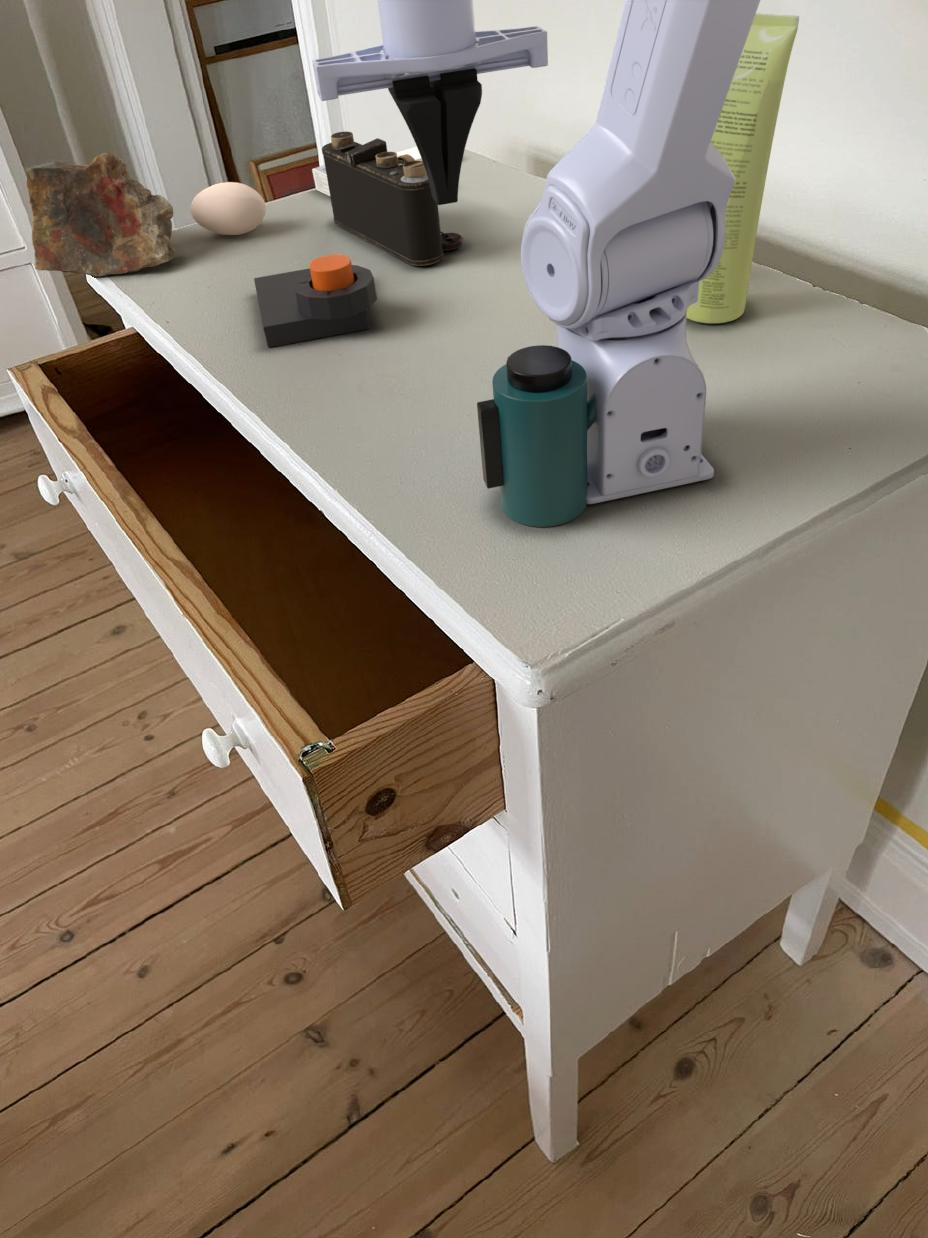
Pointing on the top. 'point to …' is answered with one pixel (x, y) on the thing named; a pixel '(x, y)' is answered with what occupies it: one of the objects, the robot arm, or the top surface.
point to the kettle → (538, 436)
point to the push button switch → (312, 306)
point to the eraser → (411, 153)
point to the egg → (228, 208)
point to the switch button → (331, 272)
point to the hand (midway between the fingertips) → (444, 199)
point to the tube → (746, 160)
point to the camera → (385, 200)
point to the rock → (97, 219)
